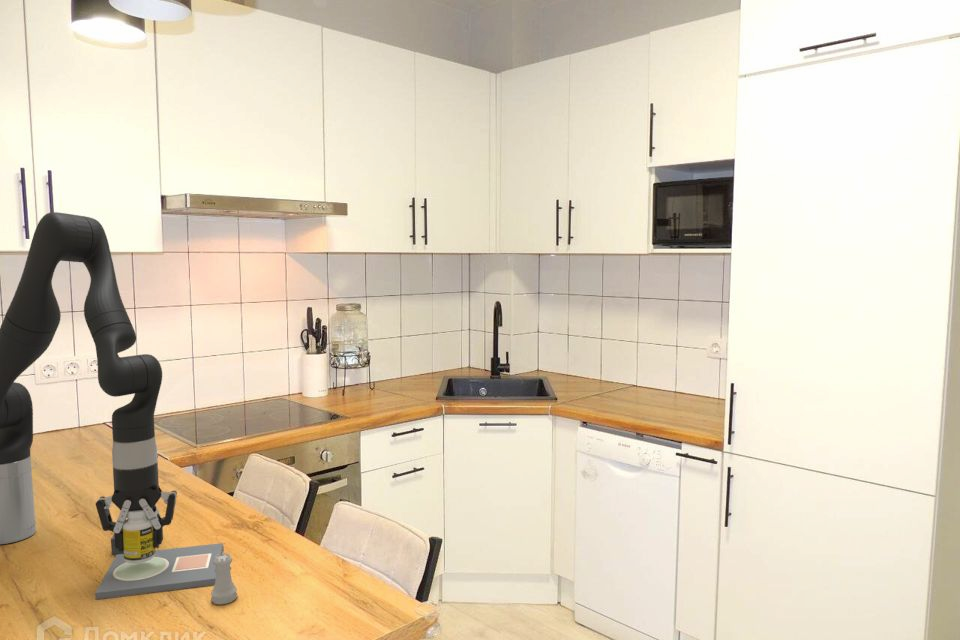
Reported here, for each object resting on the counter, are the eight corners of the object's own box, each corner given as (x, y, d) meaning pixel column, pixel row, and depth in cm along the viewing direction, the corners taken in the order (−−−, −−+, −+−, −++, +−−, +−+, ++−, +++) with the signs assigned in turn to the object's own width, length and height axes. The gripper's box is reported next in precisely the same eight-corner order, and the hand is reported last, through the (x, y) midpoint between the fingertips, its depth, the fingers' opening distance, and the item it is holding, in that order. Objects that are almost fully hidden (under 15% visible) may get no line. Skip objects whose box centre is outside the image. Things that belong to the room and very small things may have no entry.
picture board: (95, 599, 121) (94, 592, 121) (117, 560, 136) (116, 553, 136) (215, 584, 126) (215, 577, 126) (223, 548, 142) (223, 542, 142)
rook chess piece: (215, 593, 123) (213, 550, 122) (240, 592, 124) (238, 550, 123) (207, 606, 119) (205, 562, 118) (233, 605, 119) (231, 561, 118)
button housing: (111, 555, 138) (110, 539, 138) (120, 541, 145) (119, 525, 145) (149, 551, 140) (148, 535, 140) (155, 538, 147) (155, 522, 147)
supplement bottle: (143, 565, 127) (140, 514, 126) (117, 563, 128) (114, 512, 127) (162, 553, 132) (159, 504, 131) (137, 550, 133) (134, 502, 132)
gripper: (86, 471, 123) (92, 561, 124) (173, 464, 126) (177, 552, 128) (98, 458, 130) (103, 544, 132) (179, 452, 134) (183, 536, 135)
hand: (139, 547), depth 130 cm, fingers closed on supplement bottle, 5 cm apart
